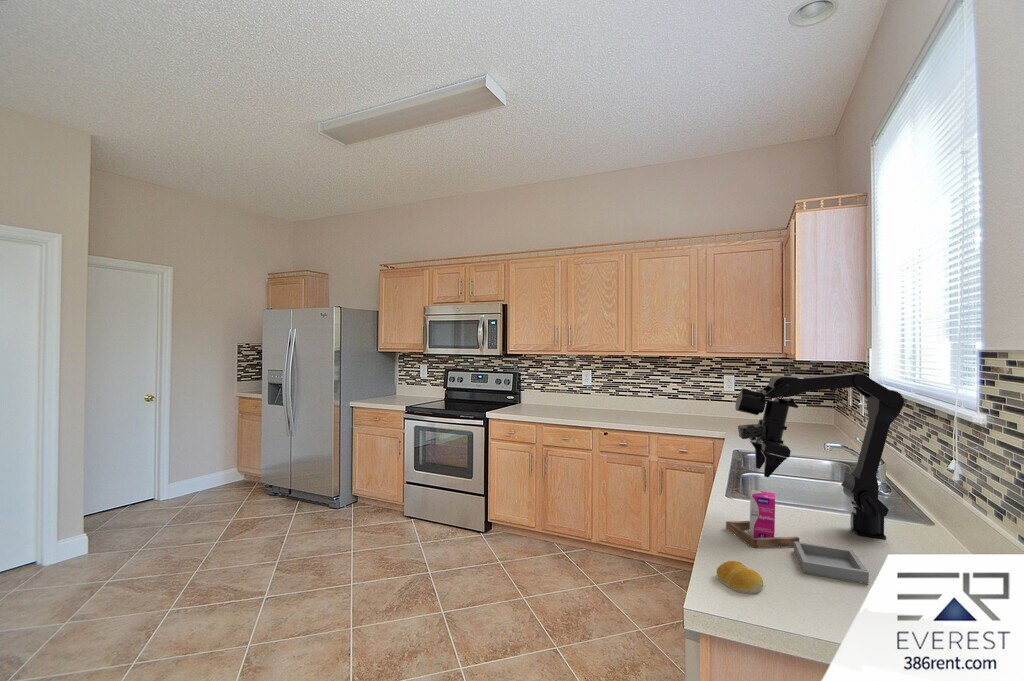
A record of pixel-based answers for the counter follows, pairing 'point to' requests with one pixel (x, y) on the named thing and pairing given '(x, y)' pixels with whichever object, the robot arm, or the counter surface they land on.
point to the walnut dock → (738, 528)
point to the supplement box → (762, 514)
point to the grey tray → (830, 562)
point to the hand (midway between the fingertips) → (761, 472)
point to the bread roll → (739, 577)
